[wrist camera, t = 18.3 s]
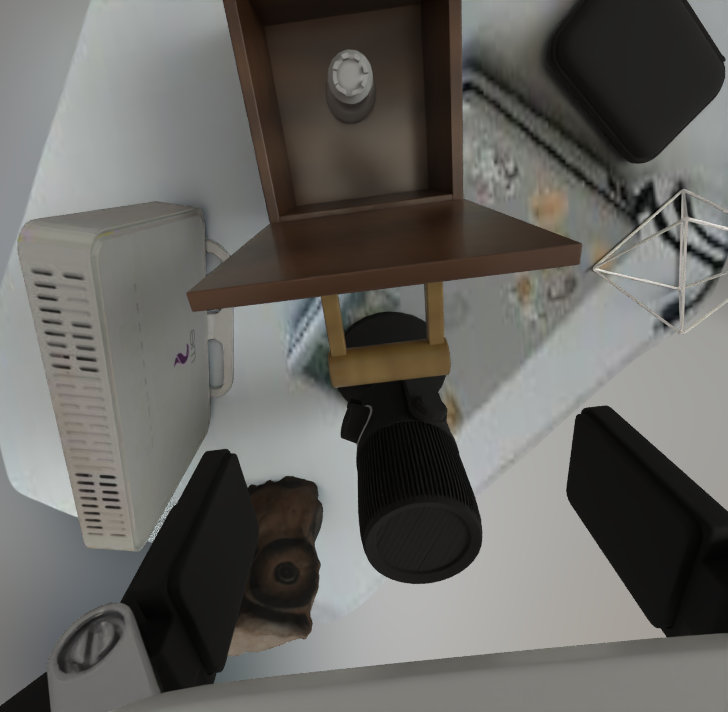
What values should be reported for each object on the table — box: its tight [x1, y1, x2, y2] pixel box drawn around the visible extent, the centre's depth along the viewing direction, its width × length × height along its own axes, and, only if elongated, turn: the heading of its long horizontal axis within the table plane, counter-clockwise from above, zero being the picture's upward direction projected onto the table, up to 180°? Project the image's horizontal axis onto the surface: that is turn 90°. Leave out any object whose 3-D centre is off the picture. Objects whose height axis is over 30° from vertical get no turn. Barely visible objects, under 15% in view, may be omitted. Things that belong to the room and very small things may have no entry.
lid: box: [186, 199, 582, 388], centre depth 23 cm, size 16×15×6 cm
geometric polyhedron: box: [593, 189, 728, 334], centre depth 38 cm, size 12×11×9 cm
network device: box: [18, 201, 234, 551], centre depth 35 cm, size 26×9×20 cm, turn 172°
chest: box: [223, 0, 463, 224], centre depth 31 cm, size 16×15×11 cm
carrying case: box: [547, 0, 725, 164], centre depth 33 cm, size 11×3×15 cm
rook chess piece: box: [325, 49, 376, 124], centre depth 31 cm, size 4×4×8 cm
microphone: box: [338, 312, 482, 584], centre depth 36 cm, size 14×14×25 cm
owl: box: [228, 476, 323, 656], centre depth 46 cm, size 13×13×20 cm
